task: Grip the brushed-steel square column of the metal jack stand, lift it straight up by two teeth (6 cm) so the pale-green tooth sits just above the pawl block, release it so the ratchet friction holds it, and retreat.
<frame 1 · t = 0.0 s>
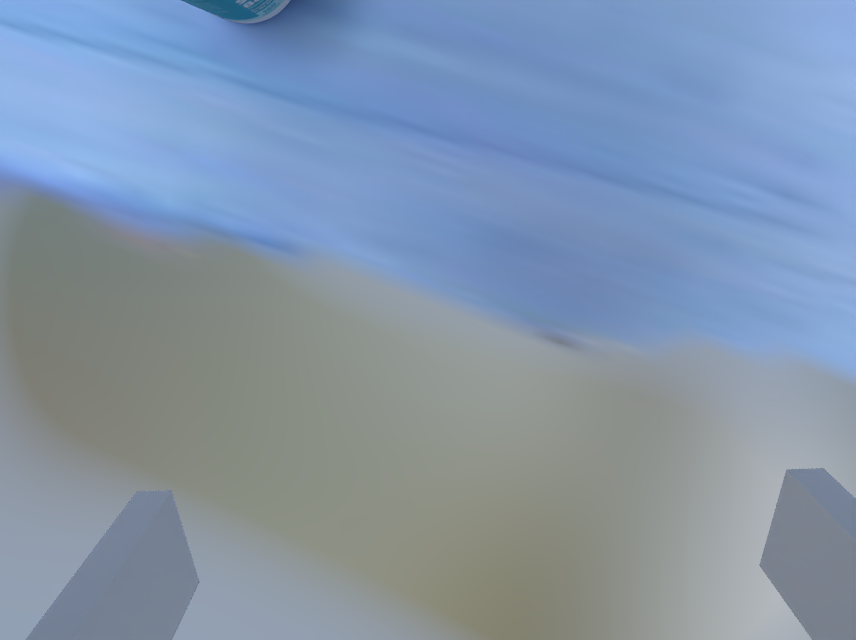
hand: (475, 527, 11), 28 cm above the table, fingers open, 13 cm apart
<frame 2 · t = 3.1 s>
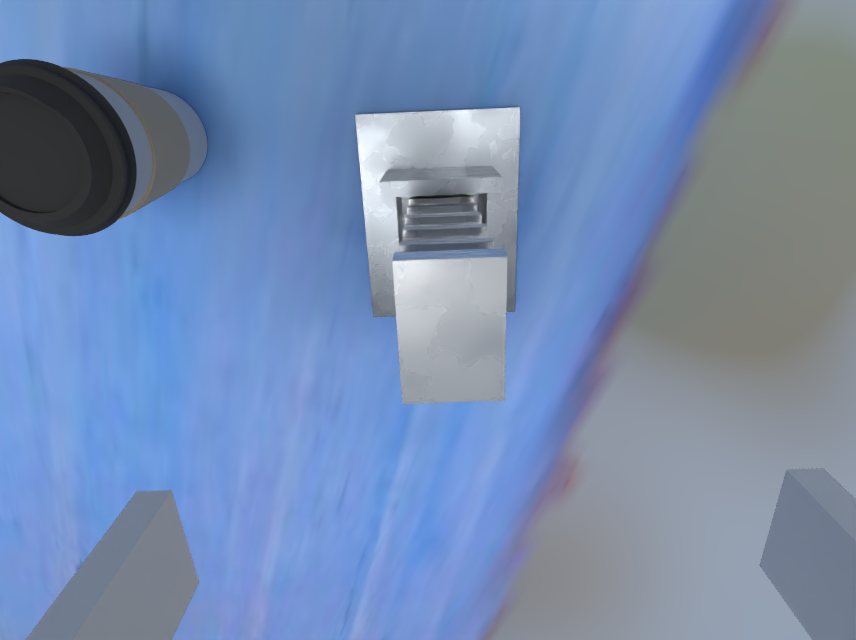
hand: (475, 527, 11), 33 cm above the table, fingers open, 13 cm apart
coffee cup: (162, 137, 39), on the table
stand: (440, 217, 42), on the table
column: (444, 259, 31), point 12 cm above the table, slide at 0.0 cm
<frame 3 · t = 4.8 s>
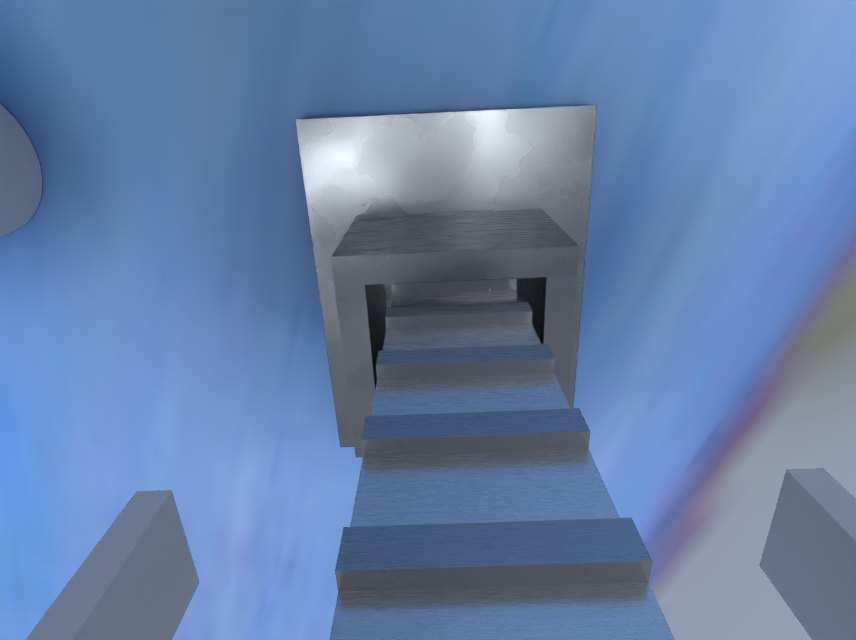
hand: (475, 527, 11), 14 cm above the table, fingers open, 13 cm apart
stand: (450, 292, 25), on the table
column: (466, 446, 14), point 12 cm above the table, slide at 0.0 cm
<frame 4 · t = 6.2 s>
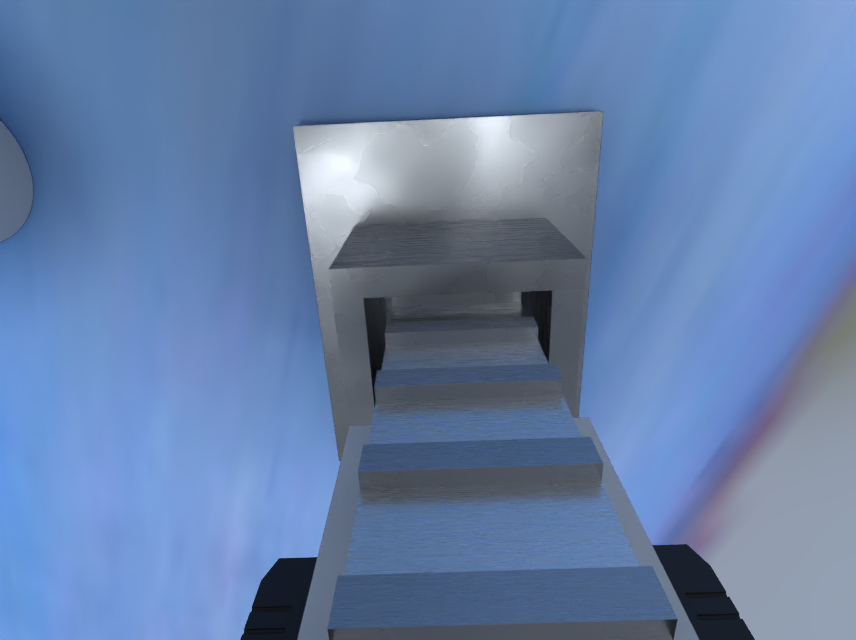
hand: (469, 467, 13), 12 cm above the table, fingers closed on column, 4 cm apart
stand: (451, 302, 24), on the table
column: (469, 470, 13), point 12 cm above the table, slide at 0.0 cm, touching gripper
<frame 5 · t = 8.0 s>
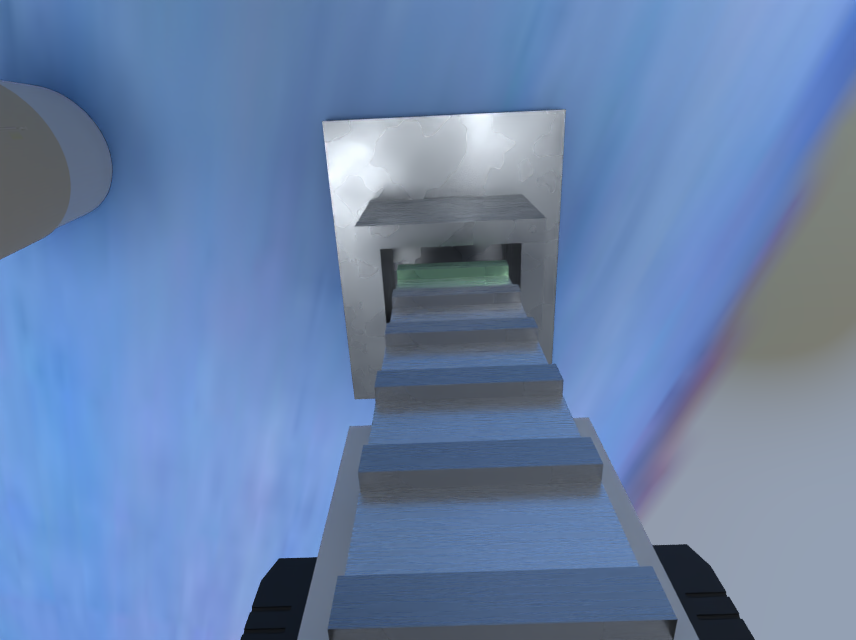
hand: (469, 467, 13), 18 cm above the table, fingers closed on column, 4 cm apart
coffee cup: (47, 154, 27), on the table
stand: (447, 265, 29), on the table
column: (469, 470, 13), point 18 cm above the table, slide at 6.0 cm, touching gripper
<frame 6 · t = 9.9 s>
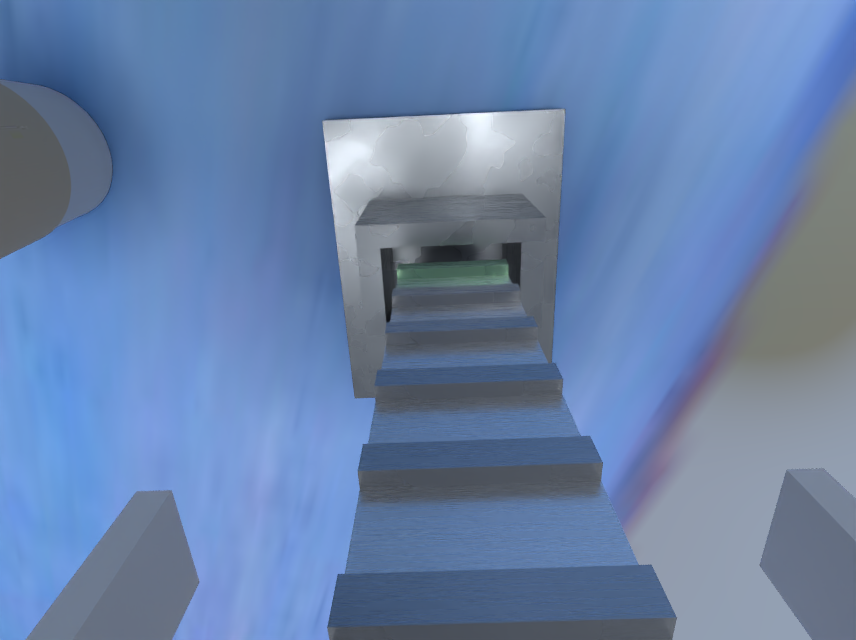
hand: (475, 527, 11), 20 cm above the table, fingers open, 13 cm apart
coffee cup: (47, 153, 27), on the table
stand: (447, 264, 29), on the table
column: (469, 469, 13), point 18 cm above the table, slide at 6.0 cm
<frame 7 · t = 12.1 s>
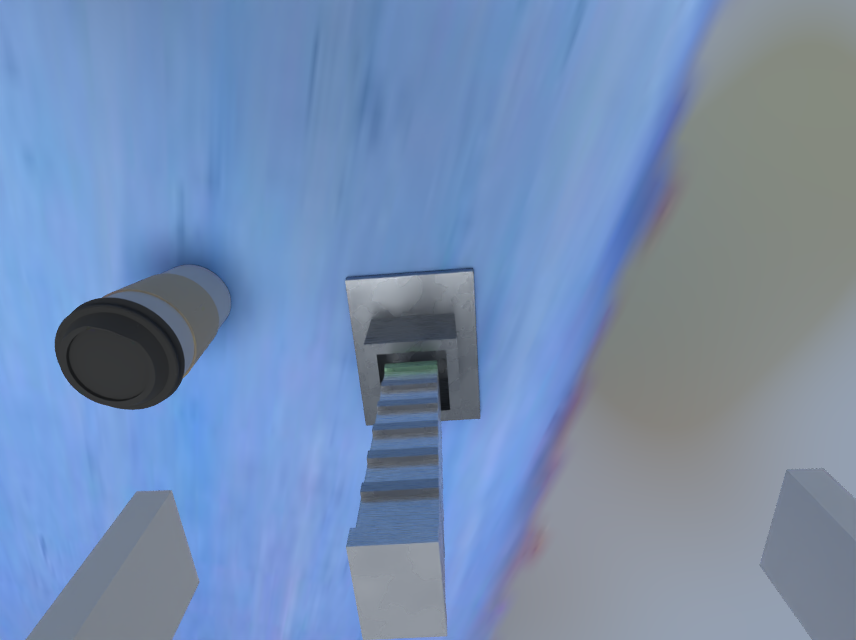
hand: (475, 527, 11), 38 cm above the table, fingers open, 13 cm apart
coffee cup: (196, 297, 50), on the table
stand: (416, 348, 52), on the table
column: (408, 459, 35), point 18 cm above the table, slide at 6.0 cm
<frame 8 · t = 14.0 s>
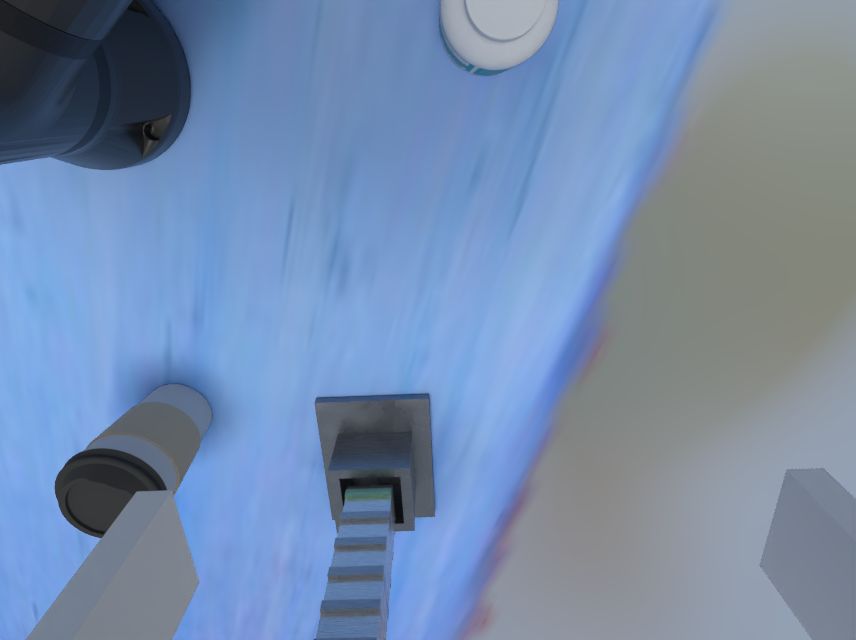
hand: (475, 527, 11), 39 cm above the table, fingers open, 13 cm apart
pill bottle: (484, 25, 42), on the table
coffee cup: (180, 409, 56), on the table
stand: (378, 457, 58), on the table
column: (358, 596, 42), point 18 cm above the table, slide at 6.0 cm
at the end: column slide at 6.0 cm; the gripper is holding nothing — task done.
